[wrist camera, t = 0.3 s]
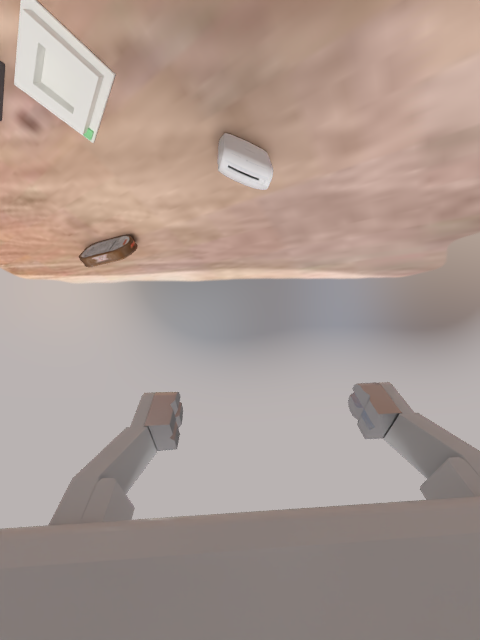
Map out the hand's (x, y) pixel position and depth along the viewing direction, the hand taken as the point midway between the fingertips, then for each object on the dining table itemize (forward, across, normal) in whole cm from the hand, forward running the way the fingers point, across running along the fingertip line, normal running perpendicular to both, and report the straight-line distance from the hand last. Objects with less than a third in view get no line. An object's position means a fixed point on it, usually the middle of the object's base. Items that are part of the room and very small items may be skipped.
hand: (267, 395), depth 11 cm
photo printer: (+50, -2, -12) cm, 52 cm away
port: (+48, +28, -22) cm, 59 cm away
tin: (+58, +32, +7) cm, 66 cm away
